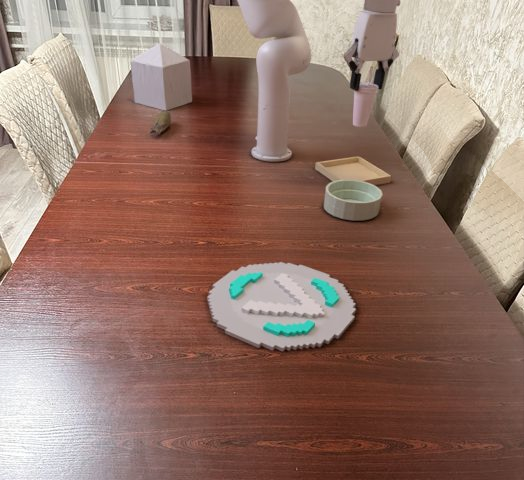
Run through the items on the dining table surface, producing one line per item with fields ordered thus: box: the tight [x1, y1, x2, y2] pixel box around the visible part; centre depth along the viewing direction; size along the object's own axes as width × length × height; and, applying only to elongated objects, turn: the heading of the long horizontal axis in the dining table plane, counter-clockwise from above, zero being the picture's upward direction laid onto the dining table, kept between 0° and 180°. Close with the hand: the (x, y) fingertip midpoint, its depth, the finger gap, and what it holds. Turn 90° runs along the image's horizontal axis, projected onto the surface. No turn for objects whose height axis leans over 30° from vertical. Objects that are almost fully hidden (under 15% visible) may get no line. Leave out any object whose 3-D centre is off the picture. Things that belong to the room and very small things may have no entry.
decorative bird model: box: [148, 110, 172, 136], centre depth 175 cm, size 5×20×5 cm, turn 175°
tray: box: [314, 155, 392, 186], centre depth 153 cm, size 17×16×2 cm
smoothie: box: [352, 66, 379, 128], centre depth 134 cm, size 6×6×14 cm
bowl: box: [323, 180, 384, 221], centre depth 135 cm, size 14×15×5 cm
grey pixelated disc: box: [206, 261, 357, 352], centre depth 101 cm, size 28×28×2 cm
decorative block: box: [130, 43, 193, 111], centre depth 196 cm, size 16×16×20 cm
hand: (365, 88), depth 133 cm, fingers closed on smoothie, 6 cm apart
